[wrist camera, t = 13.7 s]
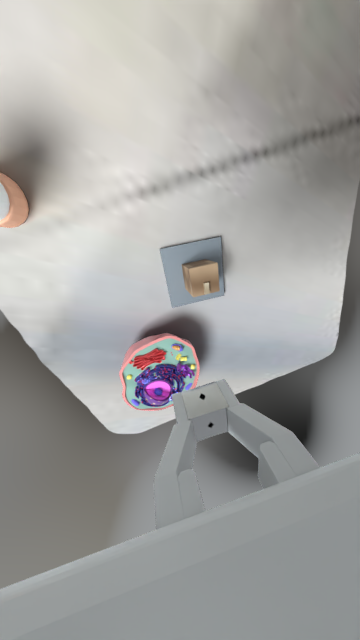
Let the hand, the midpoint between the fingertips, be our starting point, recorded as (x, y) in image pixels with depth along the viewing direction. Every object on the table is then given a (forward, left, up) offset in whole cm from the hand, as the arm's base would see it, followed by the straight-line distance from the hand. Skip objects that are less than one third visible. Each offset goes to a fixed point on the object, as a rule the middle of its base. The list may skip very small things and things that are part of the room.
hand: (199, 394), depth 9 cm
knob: (0, +8, -28) cm, 29 cm away
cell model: (+18, -4, -29) cm, 35 cm away
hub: (0, +8, -29) cm, 30 cm away
